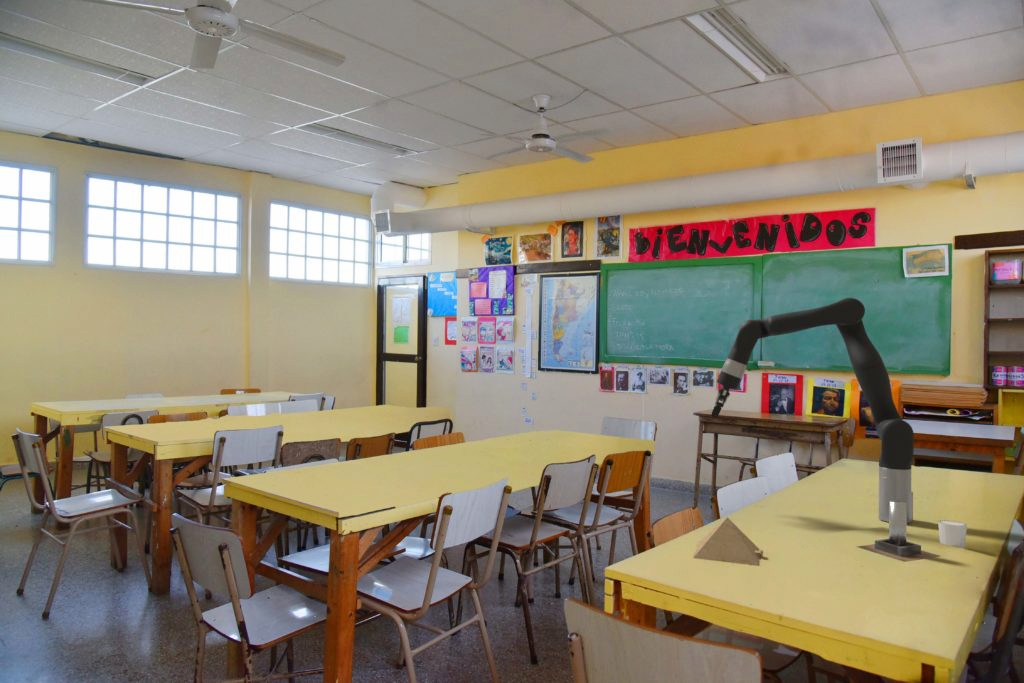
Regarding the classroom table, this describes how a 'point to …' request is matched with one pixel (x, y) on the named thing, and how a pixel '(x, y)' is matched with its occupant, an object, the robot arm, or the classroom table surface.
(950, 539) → the white cup
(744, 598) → the classroom table surface
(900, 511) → the peg
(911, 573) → the classroom table surface
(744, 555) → the model pyramid
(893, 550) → the square socket base
